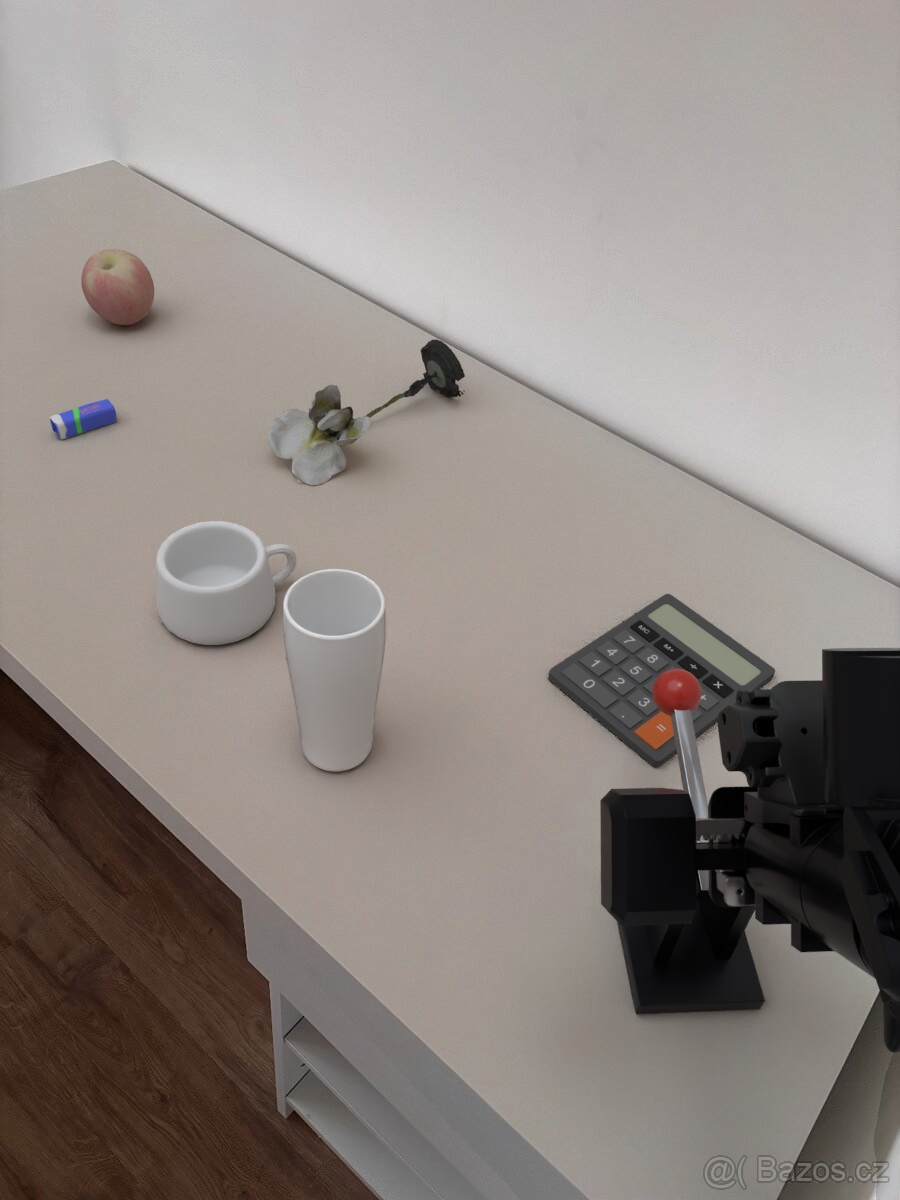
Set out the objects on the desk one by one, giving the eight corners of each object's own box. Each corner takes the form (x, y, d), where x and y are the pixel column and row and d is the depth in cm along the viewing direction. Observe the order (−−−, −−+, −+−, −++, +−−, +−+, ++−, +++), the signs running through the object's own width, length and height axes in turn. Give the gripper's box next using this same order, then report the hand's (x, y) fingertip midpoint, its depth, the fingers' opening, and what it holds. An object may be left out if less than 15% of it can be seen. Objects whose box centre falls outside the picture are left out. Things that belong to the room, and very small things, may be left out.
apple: (77, 313, 121) (64, 247, 116) (140, 297, 125) (130, 232, 119) (106, 345, 117) (94, 277, 111) (170, 327, 120) (161, 261, 115)
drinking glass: (395, 726, 81) (402, 582, 70) (361, 795, 76) (363, 651, 66) (313, 701, 82) (308, 556, 72) (275, 766, 77) (263, 621, 67)
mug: (179, 664, 84) (170, 610, 80) (143, 588, 90) (133, 533, 86) (319, 620, 88) (318, 566, 84) (276, 550, 94) (273, 497, 90)
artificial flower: (477, 421, 113) (494, 357, 105) (303, 517, 104) (306, 455, 95) (425, 366, 116) (438, 299, 107) (252, 455, 107) (251, 389, 98)
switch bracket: (607, 872, 73) (633, 787, 66) (720, 869, 73) (757, 785, 67) (635, 1014, 65) (668, 935, 59) (760, 1009, 66) (807, 930, 59)
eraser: (52, 431, 105) (48, 414, 103) (110, 414, 108) (107, 397, 106) (59, 441, 104) (55, 424, 102) (118, 424, 106) (115, 407, 105)
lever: (644, 682, 72) (655, 660, 69) (689, 681, 72) (703, 659, 70) (679, 903, 64) (694, 888, 62) (730, 901, 65) (747, 886, 62)
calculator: (547, 669, 84) (668, 590, 92) (546, 677, 85) (666, 598, 93) (658, 761, 78) (778, 668, 86) (656, 768, 79) (774, 676, 87)
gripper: (1071, 695, 45) (887, 675, 61) (646, 700, 44) (568, 678, 59) (1075, 955, 45) (889, 869, 61) (648, 971, 43) (569, 878, 59)
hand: (731, 819), depth 60 cm, fingers closed
